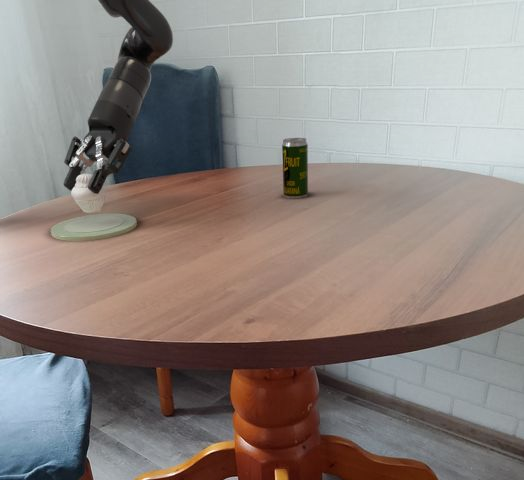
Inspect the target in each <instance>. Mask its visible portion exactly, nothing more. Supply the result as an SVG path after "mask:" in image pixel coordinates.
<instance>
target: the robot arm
mask: <svg viewBox="0 0 524 480" xmlns="http://www.w3.org/2000/svg"><path fill="white" fill-rule="evenodd" d="M97 1H98V3H99V4H100V5H101V7H102V8H103V9H104V11H105V12H106V13H107V14H108V15H109V17H111V18H120V17H121V18H122V19H124V20H125V21H126V22H127V23H128V24H129V25H130V26H131V27H130V28H129V29H128V31H126V34H125V35H124V38H123V39H122V41H121V45H120V48H119V52H118V55H117V60H116V61H117V62H116V63H115V65H114V67H113V69H112V71H111V73H110V75H109V77H108V80H107V82H106V83H105V85H104V86H103V87H102V90H101V91H100V93H99V96H98V97H97V100H96V102H95V104H94V106H93V109H92V110H91V112H90V115H89V117H88V119H87V126H88V132H87V134H85V136H84V137H83V138H79V137H78V136H77V135H76V136H73V137H72V138H71V142H70V144H69V147H68V149H67V153H66V156H65V158H64V161H63V163H64V164H65V165H66V166H68V167H69V170H68V172H67V174H66V175H65V176H66V177H65V179H64V181H63V187H65V188H66V189H67V190H69V191H70V192H71V191H72V189H73V188H74V187H75V184H76V178H77V177H78V176H79V175H81V174H84V172H85V171H86V170H87V168H88V167H89V168H90V167H92V166H94V164H95V162H96V169H94V171H93V173H92V175H93V176H92V178H91V180H90V182H89V184H88V189H89V190H90V191H92V192H93V193H94V194H98V193H99V191H100V190H101V189H102V186H103V187H104V184H105V182H106V179H107V178H109V177H110V176H111V175H112V174H113V175H114V176H115V175H116V176H117V175H118V174H119V173H120V171H121V169H122V168H123V165H124V164H125V162H126V161H127V158H128V157H129V155H130V153H131V151H132V150H133V148H132V146H131V145H130V144H129V143H128V142H127V141H128V138H129V136H130V133H131V131H132V129H133V127H134V125H135V122H136V120H137V118H138V116H139V113H140V111H141V106H142V104H143V101H144V99H145V97H146V95H147V93H148V90H149V88H150V85H151V82H152V74H151V69H152V67H153V66H154V64H155V62H156V61H158V60H159V59H160V58H161V57H163V56H165V55H166V54H167V53H168V52H169V51H170V50H171V49H172V47H173V44H174V33H173V29H172V28H171V25H170V23H169V21H168V19H167V18H166V16H165V15H164V14H163V13H162V12H161V11H160V10H159V8H158V7H156V6H155V4H154V3H152V2H151V1H150V0H97ZM84 154H85V156H86V157H87V158H86V157H85V156H84ZM81 161H82V163H81ZM115 161H116V163H115ZM114 163H115V165H114ZM80 164H81V165H80Z"/></svg>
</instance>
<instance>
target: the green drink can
mask: <svg viewBox="0 0 524 480" xmlns="http://www.w3.org/2000/svg"><path fill="white" fill-rule="evenodd" d="M308 149H309V146H308V142H307V138H305V137H289V138H283V139H282V144H281V154H282V157H281V158H282V189H283V192H282V193H283V196H284V198H286V199H293V200H294V199H297V200H298V199H304V198H306V197H307V196H308V194H309V168H308V167H309V157H308V156H309V154H308V153H309V151H308Z"/></svg>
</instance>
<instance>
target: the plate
mask: <svg viewBox="0 0 524 480" xmlns="http://www.w3.org/2000/svg"><path fill="white" fill-rule="evenodd" d="M137 225H138V222H137V218H136V217H135V216H132V215H129V214H124V213H111V212H109V213H96V214H86V215H82V216H77V217H72V218H68V219H65V220H63V221H60V222H57V223H56V224H55V225H52V227H51V228H50V233H51V234H50V235H51V236H52V237H53V238H55V239H57V240H60V241H69V242H85V241H95V240H102V239H108V238H113V237H116V236H120V235H123V234H126V233H128V232H131V231H132V230H134V229H135V228H136V227H137Z"/></svg>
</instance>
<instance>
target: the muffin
mask: <svg viewBox="0 0 524 480" xmlns="http://www.w3.org/2000/svg"><path fill="white" fill-rule="evenodd" d="M92 176H93V173H86V172H83V173H82V174H81V175H79V176H78V177H77V178H76V184H75V187H74V188H73V189H72V191H70V195H71V197H72V198H73V199H74V202H75V203H76V204H77V206H79V208H80V209H81V211H82V212H84V213H87V214H93V213H98V212H100V211H101V210H102V209H103V204H104V202H105V198H106V196H105V194H106V188H105V187H104V185H103V186H102V189H101V190H100V191H99V193H98V194H94V193H93V192H92V191H90V190H89V189H88V184H89V182H90V180H91V178H92Z"/></svg>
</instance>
